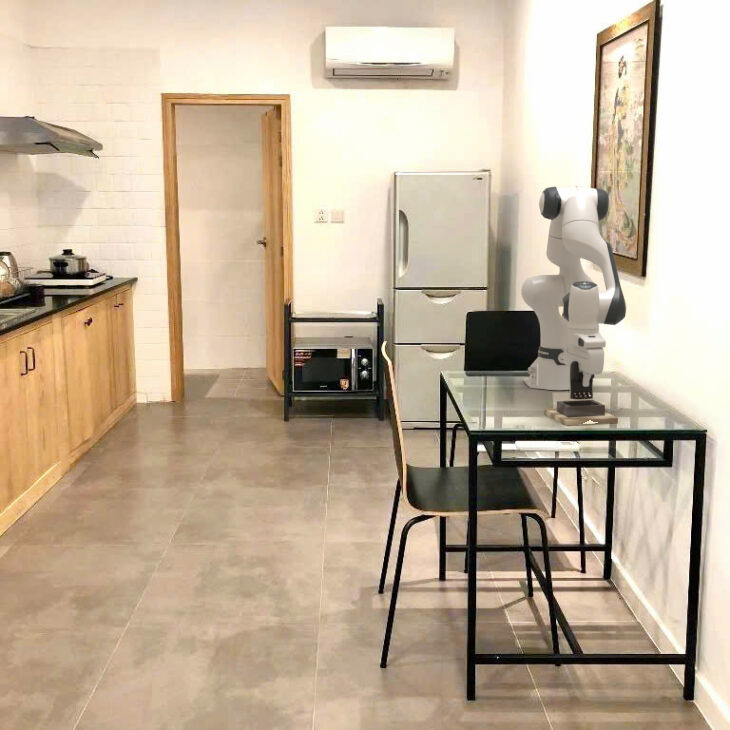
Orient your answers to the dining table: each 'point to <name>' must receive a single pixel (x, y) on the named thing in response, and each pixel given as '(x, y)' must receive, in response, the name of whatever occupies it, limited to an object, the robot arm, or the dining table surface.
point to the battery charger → (579, 383)
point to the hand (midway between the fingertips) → (581, 384)
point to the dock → (580, 412)
